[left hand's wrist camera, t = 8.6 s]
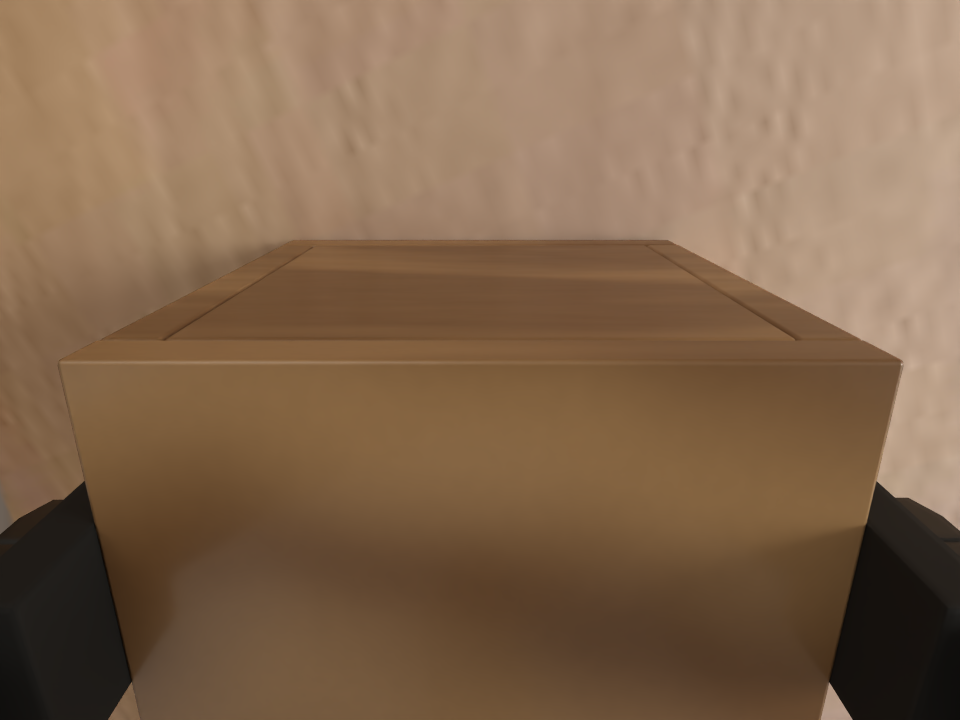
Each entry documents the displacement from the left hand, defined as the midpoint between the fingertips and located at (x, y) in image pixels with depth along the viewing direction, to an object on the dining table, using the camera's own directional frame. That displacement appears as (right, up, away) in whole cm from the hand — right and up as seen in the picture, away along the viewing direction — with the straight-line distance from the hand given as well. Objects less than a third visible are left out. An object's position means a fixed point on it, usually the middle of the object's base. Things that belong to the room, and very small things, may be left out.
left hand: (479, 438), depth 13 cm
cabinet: (0, -4, +7) cm, 8 cm away
